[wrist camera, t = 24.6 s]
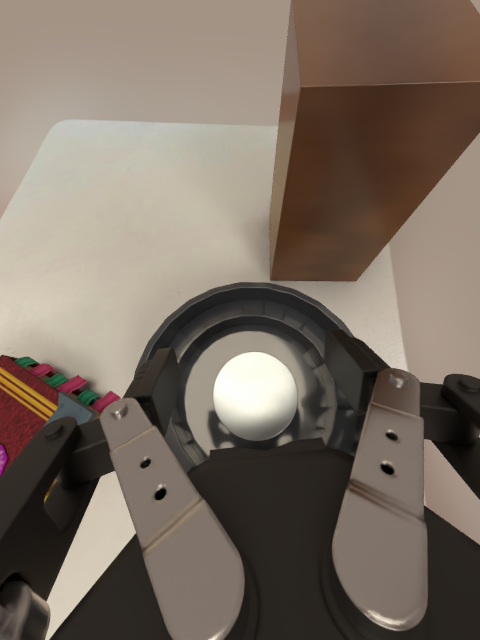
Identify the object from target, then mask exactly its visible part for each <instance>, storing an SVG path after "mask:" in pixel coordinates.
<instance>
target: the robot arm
mask: <svg viewBox="0 0 480 640" xmlns="http://www.w3.org/2000/svg"><path fill="white" fill-rule="evenodd" d="M324 360H325V364H326V367H327V369H328V370H329V372H330V373H331V375H332V376H333V378H334V380H335V381H336V383H337V384H338V386H339V387H340V389H341V391H342V392H343V394H344V395H345V397H346V398H347V400H348V401H349V403H350V405H351V406H352V408H353V409H354V411H355V412H356V414H357V416H359V415H366V417H365V421H364V425H363V429H362V433H361V436H360V440H359V444H358V448H357V452H356V456H355V457H354V456H352V455H350V454H348V453H346V452H344V451H341V450H338V449H334V448H330V447H326V446H325V443H324V441H323V439H322V437H321V438H312V439H303V440H294V441H292V442H289V443H286V444H284V445H281V446H278V447H276V448H273V449H270V450H258V449H250V448H243V447H231V448H222V449H213V450H210V454H209V460H207V461H205V462H203V463H201V464H199V465H197V466H195V467H194V468H192V469H191V470H190V471H189V472H187V473H185V471H184V470H183V468H182V466H181V465H180V463H179V462H178V460H177V459H176V457H175V455H174V454H173V452H172V451H171V449H170V447H169V446H168V444H167V443H166V441H165V440H164V438H163V437H165V435H166V432H167V428H168V425H169V421H170V418H171V415H172V411H173V408H174V404H175V401H176V397H177V394H178V390H179V387H180V383H181V374H180V369H179V365H178V361H177V358H176V354H175V350H174V349H173V348H165V349H158V350H157V352H156V354H155V356H154V358H153V359H151V360H148V361H147V362H145V363H144V364H143V365H142V366H141V367H140V369H139V371H138V372H137V374H136V376H135V378H134V380H133V381H132V383H131V384H130V386H129V388H128V390H127V391H126V393H125V395H124V397H123V398H122V399H119V400H117V401H115V402H113V403H111V404H110V405H108V406H107V407H106V408H105V409H104V410H103V411H102V413H101V415H100V418H97V419H94V420H91V421H88V422H85V423H82V424H80V425H79V424H78V423H77V421H76V419H75V418H74V417H62V418H59V419H57V420H54V421H52V422H50V423H49V424H47V425H45V426H44V427H43V428H41V429H40V430H39V431H38V432H37V433H36V434H35V435H34V436H33V438H32V439H31V440H30V441H29V442H28V444H27V445H26V446H25V447H24V449H23V450H22V451H21V452H20V453H19V455H18V456H17V457H16V458H15V460H14V461H13V462H12V463H11V464H10V466H9V467H8V468H7V469H6V471H5V472H4V473H3V474H2V475H1V477H0V640H45V637H46V634H47V631H48V627H49V623H50V608H49V605H48V603H47V602H46V601H47V599H48V597H49V594H50V592H51V590H52V587H53V585H54V583H55V581H56V578H57V576H58V574H59V571H60V569H61V567H62V564H63V562H64V560H65V558H66V555H67V553H68V551H69V548H70V546H71V544H72V541H73V539H74V537H75V534H76V532H77V530H78V528H79V525H80V523H81V521H82V518H83V516H84V514H85V511H86V509H87V507H88V505H89V502H90V500H91V498H92V495H93V493H94V491H95V488H96V486H97V484H98V482H99V479H100V477H101V476H103V475H105V474H108V473H110V472H113V471H116V474H117V477H118V480H119V483H120V486H121V489H122V492H123V495H124V498H125V501H126V504H127V507H128V510H129V513H130V516H131V519H132V522H133V525H134V528H135V530H136V534H135V535H134V536H133V537H132V539H131V540H130V541H129V542H128V544H127V545H126V546H125V547H124V548H123V550H122V551H121V552H120V553H119V555H118V556H117V557H116V558H115V559H114V561H113V562H112V563H111V564H110V566H109V567H108V568H107V569H106V570H105V572H104V573H103V574H102V575H101V577H100V578H99V579H98V580H97V581H96V583H95V584H94V585H93V586H92V588H91V589H90V590H89V591H88V592H87V594H86V595H85V596H84V597H83V599H82V600H81V601H80V602H79V603H78V605H77V606H76V607H75V608H74V609H73V611H72V612H71V613H70V614H69V616H68V617H67V618H66V619H65V620H64V622H63V623H62V624H61V625H60V627H59V628H58V629H57V630H56V632H55V633H54V634H53V636H52V637H51V638H50V640H480V545H479V544H478V543H476V542H475V541H474V540H472V539H471V538H469V537H468V536H466V535H465V534H464V533H462V532H461V531H459V530H458V529H457V528H455V527H454V526H452V525H451V524H450V523H448V522H447V521H445V520H444V519H443V518H441V517H439V516H438V515H437V514H436V513H434V512H433V511H431V510H430V509H429V508H427V507H426V506H424V439H429V440H431V441H432V442H433V443H434V445H435V446H436V447H437V448H438V449H439V450H440V452H441V453H442V454H443V456H444V457H445V458H446V459H447V460H448V462H449V463H450V464H451V465H452V466H453V468H454V469H455V470H456V471H457V473H458V474H459V475H460V476H461V477H462V479H463V480H464V481H465V482H466V484H467V485H468V486H469V487H470V489H471V490H472V491H473V492H474V493H475V495H476V496H477V497H478V498H479V499H480V438H479V434H480V379H478V378H475V377H472V376H468V375H463V374H450V375H447V376H446V377H445V379H444V382H443V385H441V384H430V383H422V382H419V380H418V379H417V378H416V377H415V376H414V375H412V374H411V373H409V372H406V371H404V370H400V369H395V368H391V367H389V366H388V365H387V364H386V363H385V362H384V361H383V360H382V359H381V358H380V357H379V356H378V355H377V354H376V353H374V351H373V350H372V349H369V347H368V346H367V345H366V344H365V343H364V342H363V341H361V340H359V339H357V338H355V337H350V336H349V335H348V334H347V333H346V332H345V331H344V330H343V329H336V330H327V331H326V333H325V350H324ZM55 479H56V480H57V482H56V483H55V485H54V487H53V489H52V490H51V492H50V494H49V495H48V497H47V499H46V500H45V496H46V494H47V492H48V490H49V488H50V487H51V485H52V483H53V482H54V480H55ZM44 500H45V502H44Z"/></svg>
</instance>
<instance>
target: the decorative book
mask: <svg viewBox="0 0 480 640" xmlns="http://www.w3.org/2000/svg"><path fill="white" fill-rule="evenodd" d="M51 370H54V371H57V370H56V369H54V368H53V367H51V366H50V365H48V364H41V365H40V364H39V363H38V362H36V361H34V360H33V359H31V358H30V357H23V358H14V357H9V356H5V355H1V357H0V477H1V475H2V474H3V473H4V472H5V471H6V469H7V468H8V467H9V466H10V464H11V463H12V462H13V461H14V460H15V458H16V457H17V456H18V455H19V453H20V452H21V451H22V450H23V449H24V447H25V446H26V445H27V444H28V442H29V441H30V440H31V439H32V438H33V436H34V435H35V434H36V433H37V432H38V431H39V430H40V429H41V428H43V427H44V426H45V425H47V424H49V423H50V422H52V421H54V420H57V419H59V418H62V417H74V418H75V419H76V421H77V423H78V424H79V425H80V424H82V423H85V422H88V421H91V420H94V419H97V418H100V415H101V413H102V411H103V410H104V409H105V408H106V407H107V406H108V405H110V404H111V403H113V402H115V401H117V400H119V399H120V397H119V396H117V395H116V394H114V393H113V392H111V391H110V392H109V393H108V394H107V395H105V396H104V397H103V398H101V399H100V400H98V399H96V397H98V395H96V394H95V393H93V392H92V391H90V390H89V389H88V390H86V391H84V392H82V391H80V390H79V389H78V388H80V387H81V386H83V385H84V384H85V383H87V382H88V381H86V380H85V379H83V378H82V377H80V376H79V375H77V376H76V377H74V378H73V379H72V380H70V381H68V382H66V381H67V380H68V379H66V378H65V377H63V376H62V375H60V374H59V373H58V374H54V373H53V372H51ZM56 482H57V480H56V479H55V480H54V482H53V483H52V485H51V487H50V488H49V490H48V492H47V494H46V496H45V500H46V499H47V497H48V495H49V494H50V492H51V490H52V489H53V487H54V485H55V483H56ZM45 500H44V502H45Z"/></svg>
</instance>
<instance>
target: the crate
mask: <svg viewBox="0 0 480 640" xmlns="http://www.w3.org/2000/svg"><path fill="white" fill-rule="evenodd" d="M479 133H480V14H479V13H478V11H477V10H476V8H475V7H474V5H473V4H472V3H471V1H470V0H291V6H290V16H289V26H288V36H287V46H286V56H285V66H284V77H283V86H282V96H281V106H280V116H279V126H278V135H277V145H276V155H275V165H274V175H273V185H272V195H271V205H270V280H293V281H356V280H357V279H358V278H359V277H360V276H361V274H362V273H363V272H364V271H365V270H366V268H367V267H368V266H369V265H370V264H371V262H372V261H373V260H374V259H375V258H376V256H377V255H378V254H379V253H380V252H381V250H382V249H383V248H384V247H385V246H386V244H387V243H388V242H389V241H390V240H391V238H392V237H393V236H394V235H395V234H396V232H397V231H398V230H399V229H400V228H401V226H402V225H403V224H404V223H405V222H406V220H407V219H408V218H409V217H410V216H411V214H412V213H413V212H414V211H415V209H416V208H417V207H418V206H419V205H420V204H421V202H422V201H423V200H424V199H425V198H426V196H427V195H428V194H429V193H430V192H431V190H432V189H433V188H434V187H435V186H436V184H437V183H438V182H439V181H440V180H441V178H442V177H443V176H444V175H445V174H446V172H447V171H448V170H449V169H450V168H451V166H452V165H453V164H454V163H455V162H456V160H457V159H458V158H459V157H460V156H461V154H462V153H463V152H464V151H465V150H466V148H467V147H468V146H469V145H470V144H471V142H472V141H473V140H474V139H475V138H476V136H477V135H478V134H479Z"/></svg>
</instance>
